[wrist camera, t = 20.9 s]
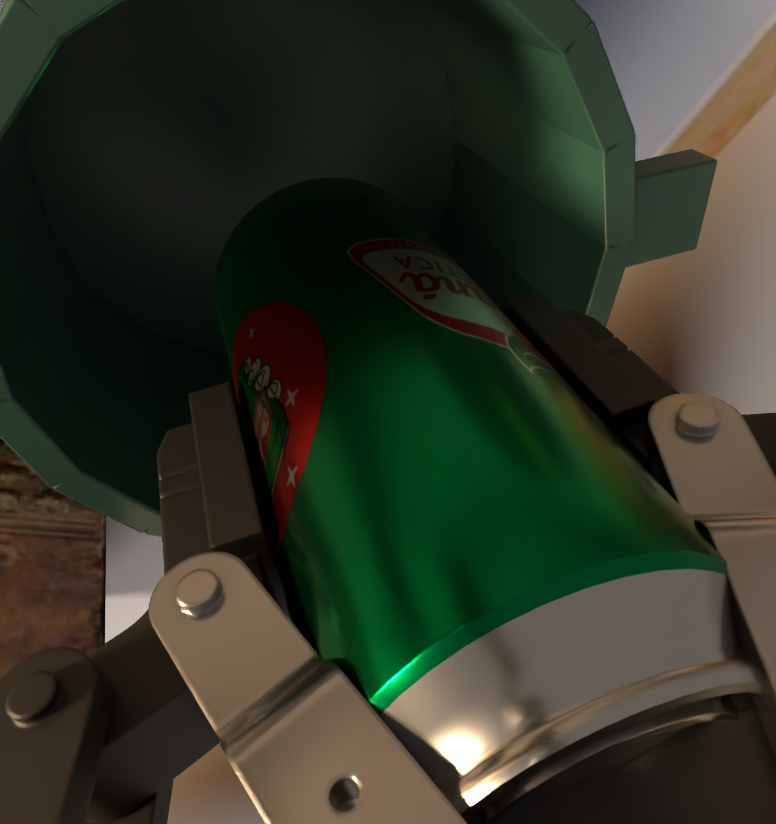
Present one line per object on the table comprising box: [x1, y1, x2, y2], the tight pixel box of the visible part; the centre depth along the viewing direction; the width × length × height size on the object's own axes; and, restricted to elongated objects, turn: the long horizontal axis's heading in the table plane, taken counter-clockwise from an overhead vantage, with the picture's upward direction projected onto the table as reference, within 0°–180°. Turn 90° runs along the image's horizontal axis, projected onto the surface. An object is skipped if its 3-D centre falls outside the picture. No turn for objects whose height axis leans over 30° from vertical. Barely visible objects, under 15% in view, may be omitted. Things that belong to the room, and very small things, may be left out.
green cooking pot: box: [0, 0, 717, 537], centre depth 17 cm, size 15×20×10 cm
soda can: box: [215, 177, 766, 824], centre depth 11 cm, size 5×5×12 cm
